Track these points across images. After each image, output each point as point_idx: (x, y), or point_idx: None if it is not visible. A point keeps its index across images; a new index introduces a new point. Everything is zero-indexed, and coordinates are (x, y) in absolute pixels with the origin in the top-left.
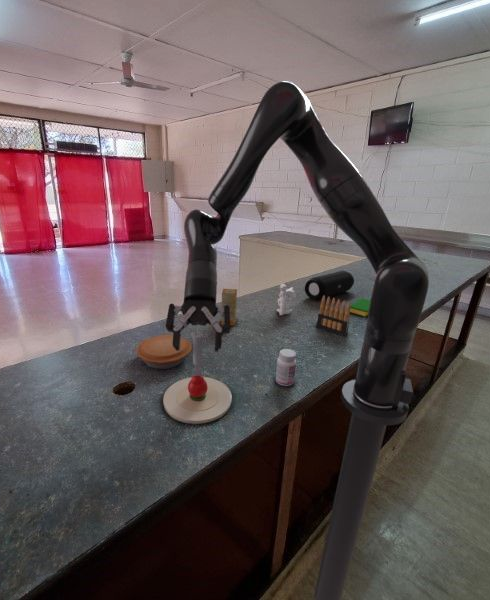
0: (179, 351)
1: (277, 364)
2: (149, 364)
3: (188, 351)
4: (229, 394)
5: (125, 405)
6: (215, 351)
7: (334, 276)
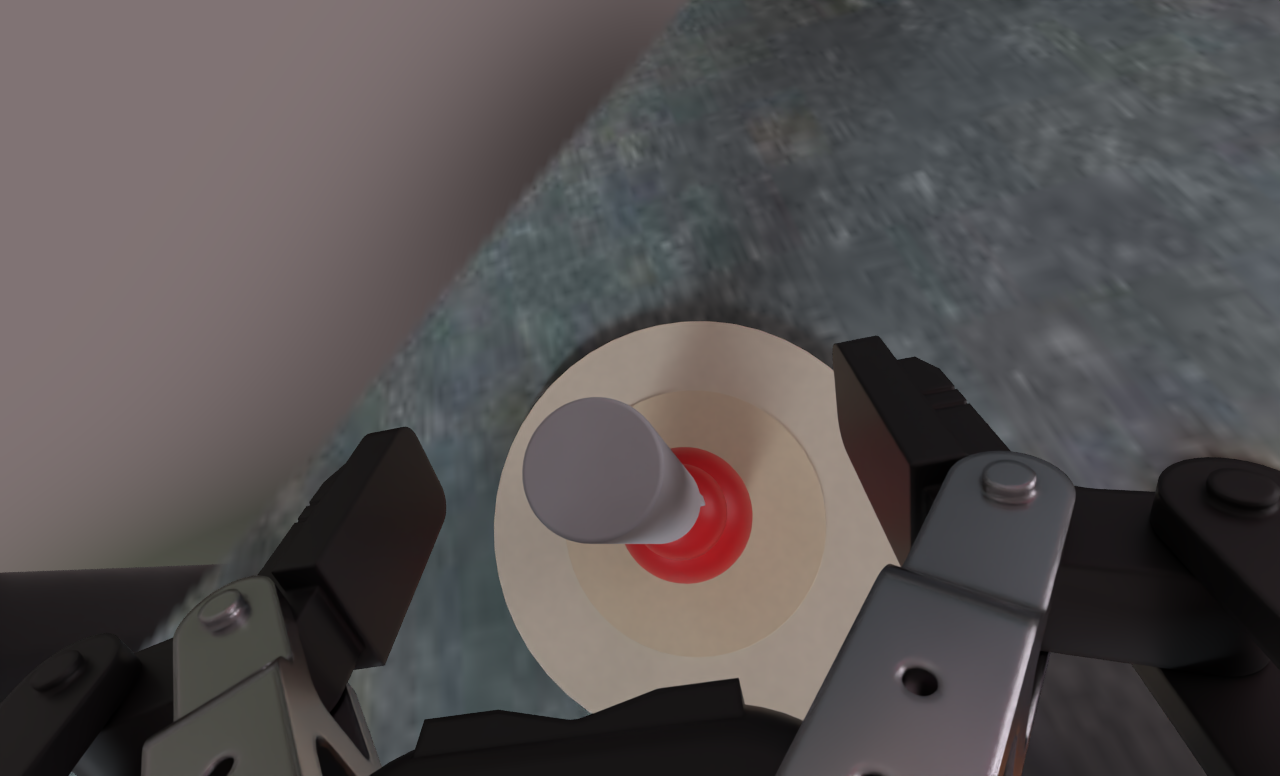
0: None
1: None
2: None
3: None
4: (509, 575)
5: (1103, 373)
6: (430, 475)
7: None
